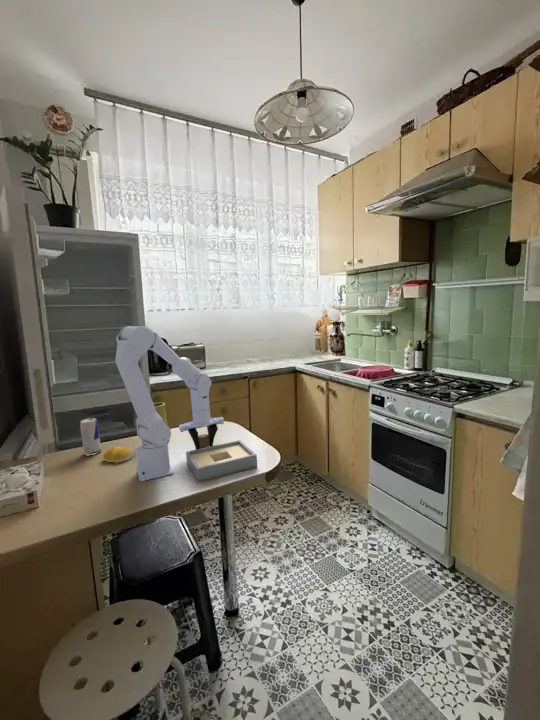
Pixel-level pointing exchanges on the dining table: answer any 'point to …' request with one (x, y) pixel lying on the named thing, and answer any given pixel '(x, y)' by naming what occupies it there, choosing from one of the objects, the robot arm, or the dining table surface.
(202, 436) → the walnut peg
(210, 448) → the socket box
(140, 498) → the dining table surface
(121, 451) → the bread roll
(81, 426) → the energy drink
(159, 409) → the vase
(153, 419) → the robot arm
